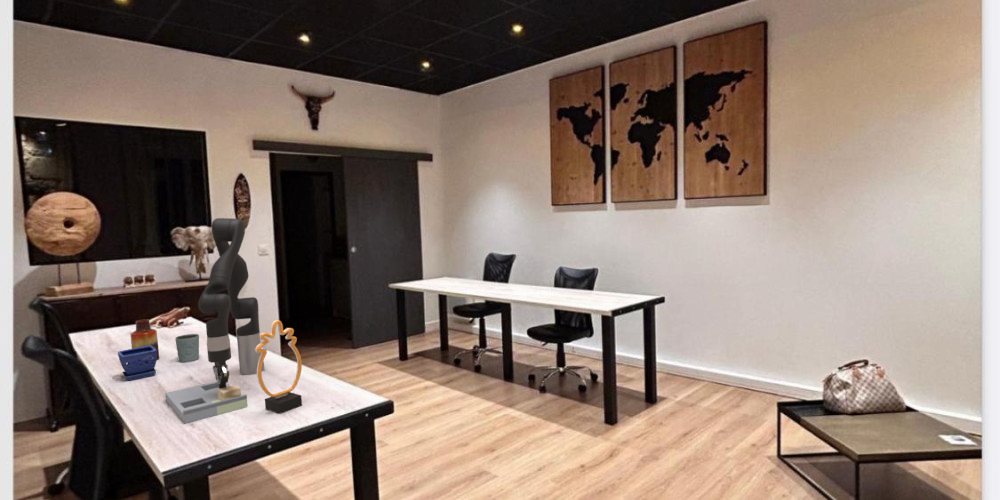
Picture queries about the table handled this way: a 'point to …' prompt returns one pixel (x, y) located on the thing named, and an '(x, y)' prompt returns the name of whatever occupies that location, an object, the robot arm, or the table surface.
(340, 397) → the table surface
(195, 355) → the teal cup
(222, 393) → the beech block
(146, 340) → the vase
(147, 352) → the flower pot
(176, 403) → the board
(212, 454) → the table surface
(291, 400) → the lamp
